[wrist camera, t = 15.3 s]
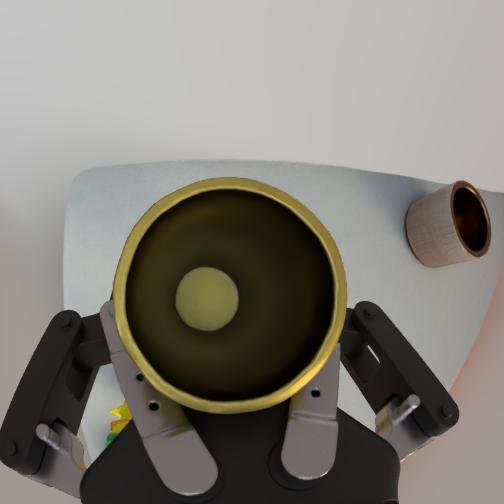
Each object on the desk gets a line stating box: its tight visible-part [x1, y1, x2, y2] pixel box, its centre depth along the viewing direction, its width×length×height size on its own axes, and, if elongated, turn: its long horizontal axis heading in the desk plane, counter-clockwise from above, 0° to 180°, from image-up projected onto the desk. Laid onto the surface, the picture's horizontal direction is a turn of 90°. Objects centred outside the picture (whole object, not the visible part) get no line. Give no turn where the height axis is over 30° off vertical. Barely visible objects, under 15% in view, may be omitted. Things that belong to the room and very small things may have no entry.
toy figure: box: [105, 401, 132, 448], centre depth 22 cm, size 7×4×12 cm, turn 88°
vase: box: [112, 177, 347, 414], centre depth 13 cm, size 6×6×14 cm
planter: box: [406, 181, 491, 267], centre depth 34 cm, size 11×11×10 cm
